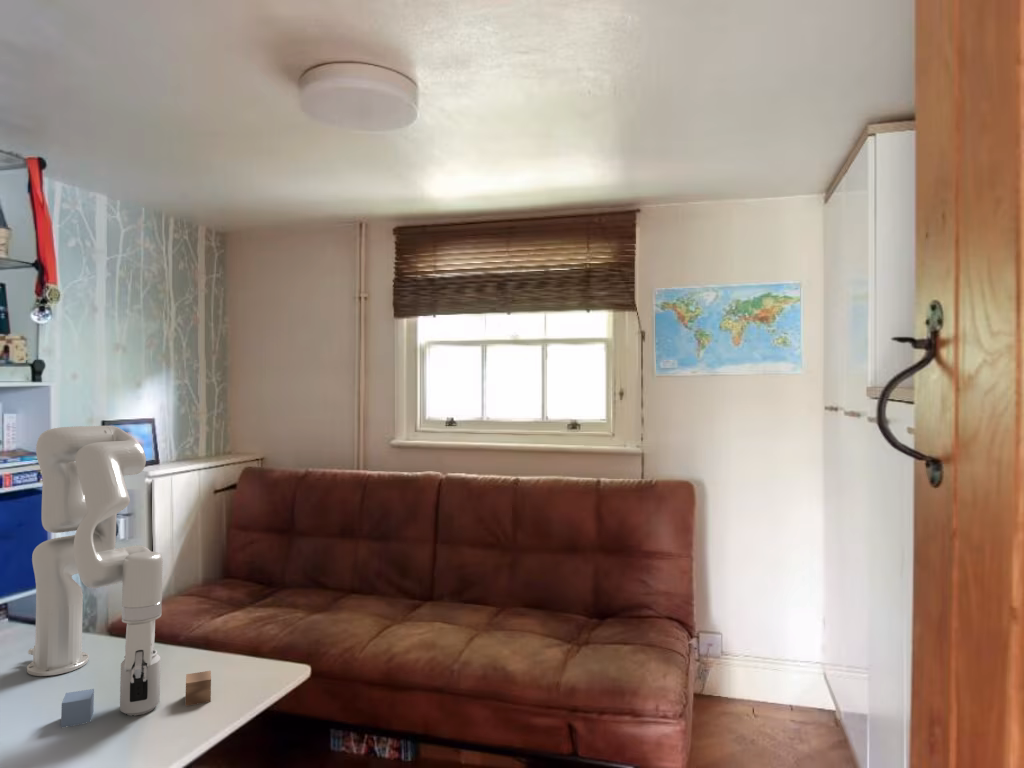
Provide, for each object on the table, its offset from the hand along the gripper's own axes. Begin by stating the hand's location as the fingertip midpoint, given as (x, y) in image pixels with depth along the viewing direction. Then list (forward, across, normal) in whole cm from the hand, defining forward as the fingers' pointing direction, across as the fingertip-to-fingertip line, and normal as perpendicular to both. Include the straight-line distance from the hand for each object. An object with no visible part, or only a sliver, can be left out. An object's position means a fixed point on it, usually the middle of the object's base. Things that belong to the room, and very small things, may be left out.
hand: (140, 690), depth 142 cm
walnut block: (+4, 0, +11) cm, 12 cm away
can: (+4, 0, 0) cm, 4 cm away
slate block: (+4, 0, -11) cm, 12 cm away
